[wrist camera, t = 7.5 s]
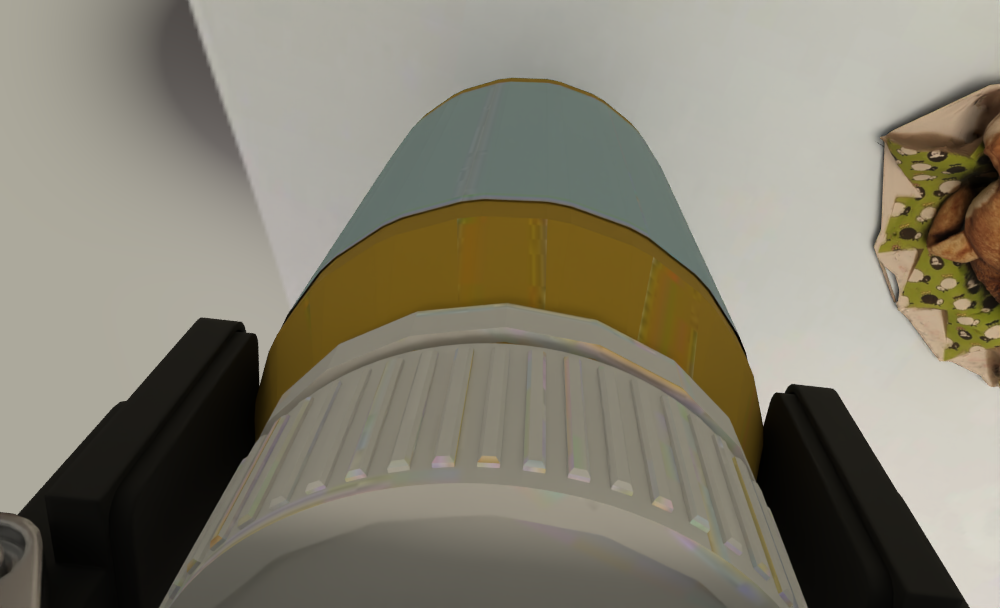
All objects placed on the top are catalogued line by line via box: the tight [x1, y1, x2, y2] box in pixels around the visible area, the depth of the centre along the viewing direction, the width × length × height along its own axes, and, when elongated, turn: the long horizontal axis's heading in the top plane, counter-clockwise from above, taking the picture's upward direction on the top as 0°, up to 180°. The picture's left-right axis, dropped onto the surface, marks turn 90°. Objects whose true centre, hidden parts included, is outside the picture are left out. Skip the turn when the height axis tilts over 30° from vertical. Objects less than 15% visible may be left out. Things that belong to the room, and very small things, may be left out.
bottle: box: [159, 78, 808, 608], centre depth 14 cm, size 7×7×15 cm
